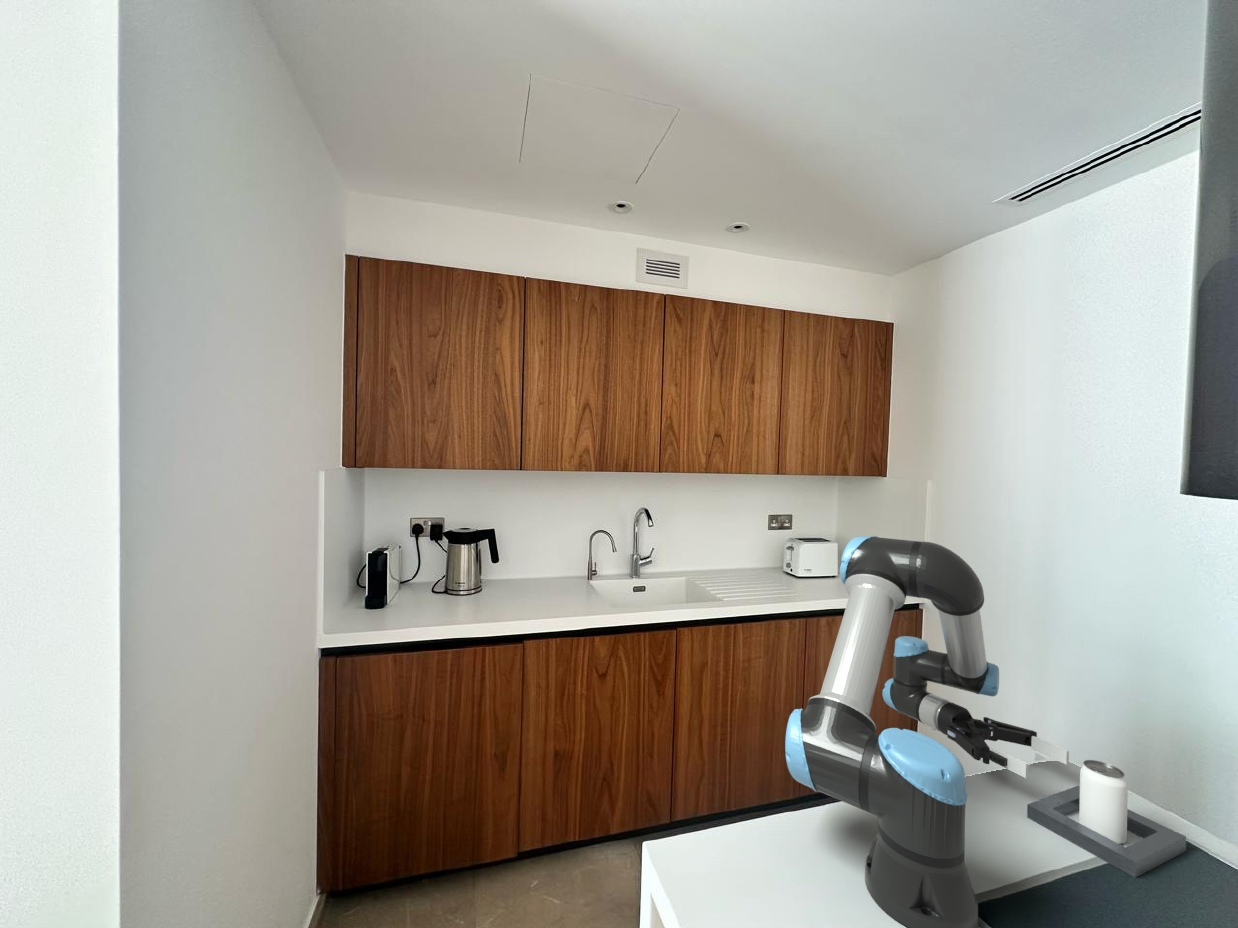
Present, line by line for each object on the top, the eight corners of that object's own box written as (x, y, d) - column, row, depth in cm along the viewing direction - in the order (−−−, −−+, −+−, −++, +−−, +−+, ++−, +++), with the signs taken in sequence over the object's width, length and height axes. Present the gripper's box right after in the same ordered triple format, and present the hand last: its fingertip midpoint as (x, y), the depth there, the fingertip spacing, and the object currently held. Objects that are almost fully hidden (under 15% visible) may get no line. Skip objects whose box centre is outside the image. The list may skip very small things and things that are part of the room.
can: (1136, 848, 93) (1137, 780, 93) (1094, 842, 94) (1095, 775, 94) (1110, 824, 99) (1111, 761, 99) (1070, 818, 100) (1072, 756, 101)
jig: (1135, 877, 86) (1135, 862, 86) (1027, 817, 101) (1027, 804, 101) (1185, 850, 93) (1186, 836, 93) (1077, 797, 107) (1077, 785, 107)
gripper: (980, 724, 130) (1083, 770, 110) (909, 742, 120) (1008, 796, 100) (980, 693, 130) (1083, 734, 110) (909, 709, 120) (1009, 757, 100)
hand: (1048, 764), depth 105 cm, fingers open, 13 cm apart
